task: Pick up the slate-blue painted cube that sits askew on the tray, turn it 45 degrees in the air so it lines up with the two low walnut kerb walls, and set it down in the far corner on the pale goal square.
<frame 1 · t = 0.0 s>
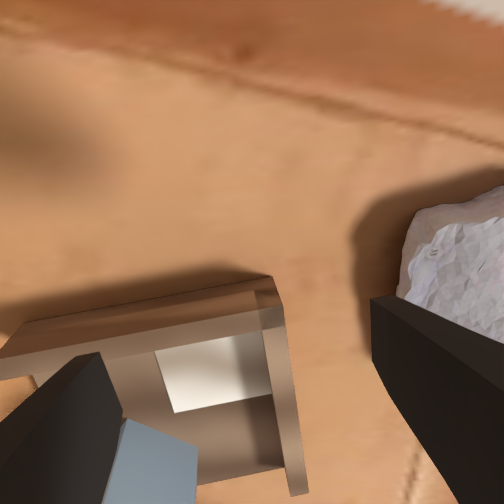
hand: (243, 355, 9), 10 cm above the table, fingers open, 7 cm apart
cube: (143, 458, 22), point 1 cm above the table, touching tray
stone block: (451, 282, 22), on the table
tray: (178, 393, 22), on the table
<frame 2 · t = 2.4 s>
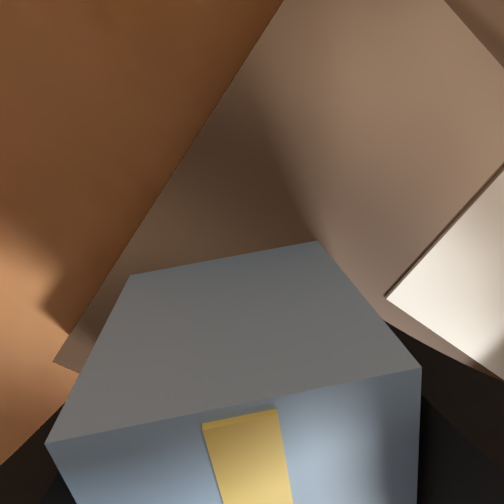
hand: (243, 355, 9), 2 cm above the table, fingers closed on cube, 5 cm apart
cube: (240, 335, 10), point 1 cm above the table, touching tray, gripper
tray: (376, 277, 11), on the table
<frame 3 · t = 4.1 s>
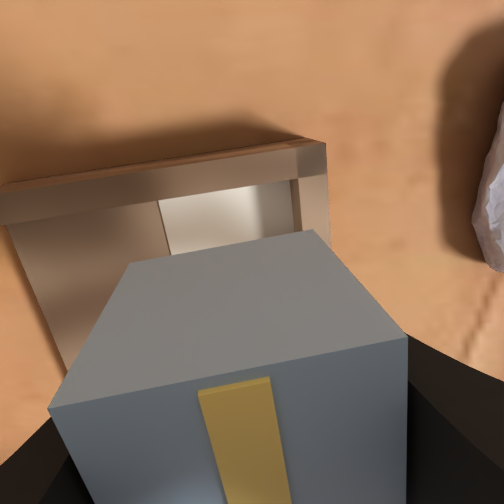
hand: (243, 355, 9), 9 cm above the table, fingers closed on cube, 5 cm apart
cube: (238, 323, 10), point 8 cm above the table, touching gripper
tray: (189, 291, 19), on the table
when the fingers open (4 cm above the table, at t = 5.7 s): cube drops 1 cm, resting on tray.
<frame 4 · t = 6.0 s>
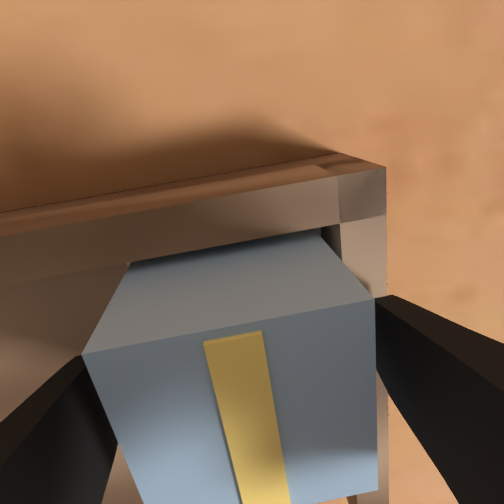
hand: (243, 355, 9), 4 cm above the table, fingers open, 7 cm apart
cube: (236, 303, 11), point 1 cm above the table, touching tray
tray: (176, 365, 14), on the table
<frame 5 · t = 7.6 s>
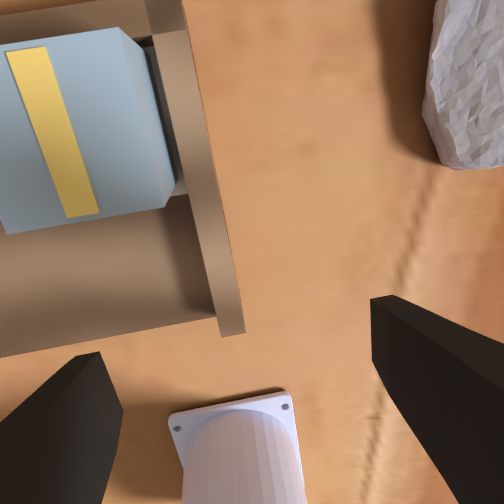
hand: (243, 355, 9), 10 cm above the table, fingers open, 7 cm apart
cube: (106, 131, 15), point 1 cm above the table, touching tray
stone block: (500, 35, 17), on the table
tray: (75, 203, 17), on the table
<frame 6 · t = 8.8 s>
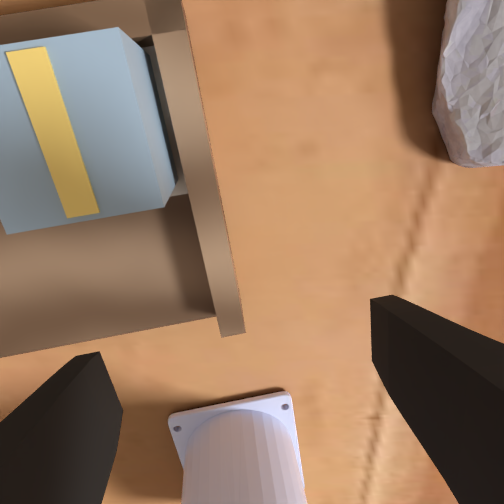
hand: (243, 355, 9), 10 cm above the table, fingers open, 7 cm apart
cube: (106, 131, 15), point 1 cm above the table, touching tray
tray: (75, 203, 17), on the table
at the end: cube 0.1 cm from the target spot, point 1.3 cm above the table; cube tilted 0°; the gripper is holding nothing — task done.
